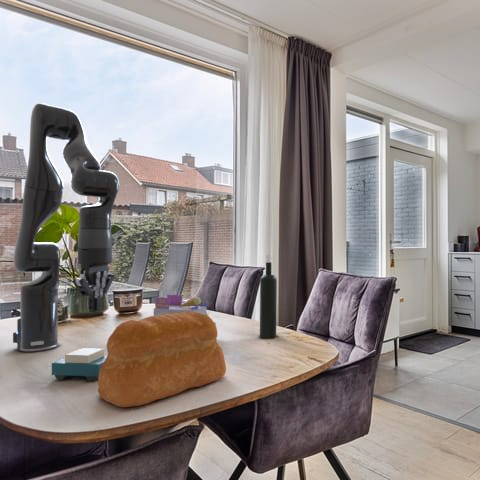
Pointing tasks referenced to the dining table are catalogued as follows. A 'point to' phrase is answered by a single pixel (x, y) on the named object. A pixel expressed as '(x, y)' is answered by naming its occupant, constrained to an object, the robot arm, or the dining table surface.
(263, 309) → the wine bottle
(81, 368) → the teal block
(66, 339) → the dining table surface
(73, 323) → the dining table surface
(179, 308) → the toy vehicle
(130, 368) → the bread
